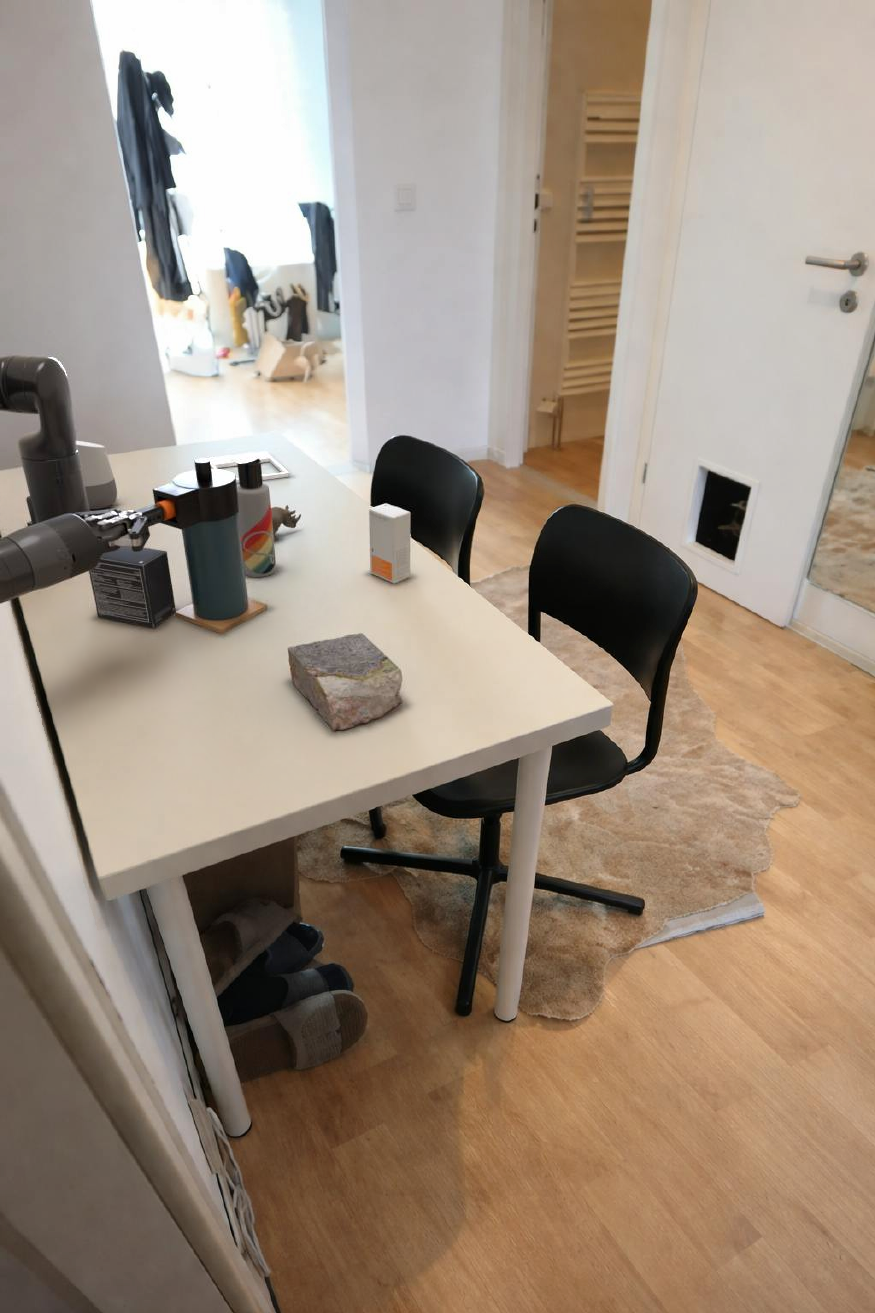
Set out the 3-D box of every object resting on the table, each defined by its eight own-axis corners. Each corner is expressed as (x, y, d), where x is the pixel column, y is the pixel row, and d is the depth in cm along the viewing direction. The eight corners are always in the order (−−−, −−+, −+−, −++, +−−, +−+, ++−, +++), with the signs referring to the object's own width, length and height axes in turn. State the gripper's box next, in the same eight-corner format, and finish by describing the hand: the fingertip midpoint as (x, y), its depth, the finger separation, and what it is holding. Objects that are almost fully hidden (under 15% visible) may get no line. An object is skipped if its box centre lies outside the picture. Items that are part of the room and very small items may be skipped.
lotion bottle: (269, 579, 141) (258, 464, 131) (237, 576, 142) (224, 461, 132) (281, 566, 146) (271, 454, 135) (250, 562, 146) (239, 451, 136)
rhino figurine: (308, 532, 159) (306, 503, 156) (245, 550, 151) (242, 519, 148) (297, 526, 162) (294, 497, 159) (234, 543, 154) (230, 513, 151)
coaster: (221, 634, 124) (220, 629, 124) (175, 616, 129) (174, 611, 128) (267, 609, 131) (267, 604, 131) (222, 593, 136) (221, 588, 135)
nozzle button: (168, 522, 114) (165, 504, 113) (155, 518, 115) (152, 500, 114) (185, 516, 116) (182, 498, 115) (172, 512, 117) (169, 495, 116)
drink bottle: (205, 634, 122) (183, 479, 110) (165, 618, 126) (139, 467, 114) (261, 605, 131) (246, 458, 119) (221, 591, 135) (203, 448, 123)
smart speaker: (129, 504, 171) (117, 436, 164) (91, 517, 164) (77, 447, 157) (99, 495, 175) (86, 429, 168) (61, 507, 169) (46, 439, 161)
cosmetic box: (369, 574, 143) (367, 508, 137) (387, 567, 146) (386, 502, 140) (393, 584, 140) (393, 517, 134) (411, 577, 142) (411, 511, 136)
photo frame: (265, 450, 201) (288, 471, 187) (266, 454, 201) (289, 476, 188) (205, 457, 195) (224, 480, 181) (206, 462, 196) (225, 484, 182)
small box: (179, 611, 130) (169, 549, 125) (154, 629, 125) (142, 565, 120) (123, 600, 133) (111, 539, 128) (96, 617, 128) (82, 555, 122)
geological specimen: (357, 627, 116) (410, 671, 105) (358, 666, 119) (410, 712, 107) (285, 644, 111) (332, 691, 100) (288, 683, 114) (334, 734, 102)
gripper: (23, 567, 106) (133, 527, 119) (89, 594, 100) (197, 548, 113) (9, 512, 103) (124, 476, 115) (77, 536, 96) (190, 495, 109)
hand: (160, 512), depth 114 cm, fingers closed
